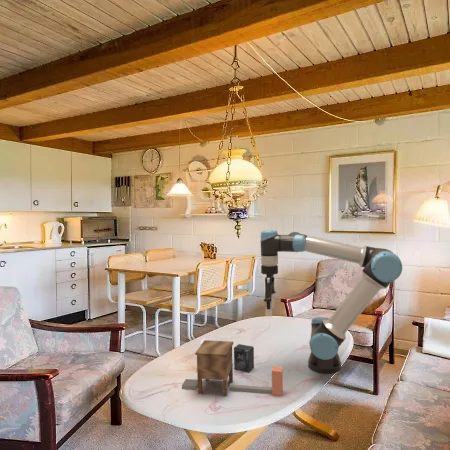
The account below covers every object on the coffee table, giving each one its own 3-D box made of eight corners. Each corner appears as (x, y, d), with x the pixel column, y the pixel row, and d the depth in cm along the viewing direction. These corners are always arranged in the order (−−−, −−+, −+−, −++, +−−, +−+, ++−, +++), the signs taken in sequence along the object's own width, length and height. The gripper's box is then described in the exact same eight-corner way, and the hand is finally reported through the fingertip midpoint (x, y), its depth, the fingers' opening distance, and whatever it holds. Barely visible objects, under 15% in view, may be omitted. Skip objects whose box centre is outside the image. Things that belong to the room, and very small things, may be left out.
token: (199, 384, 169) (199, 379, 169) (195, 390, 164) (195, 386, 163) (186, 383, 171) (185, 379, 170) (182, 389, 165) (181, 385, 165)
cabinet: (234, 380, 172) (233, 341, 171) (227, 396, 157) (226, 354, 156) (205, 378, 174) (204, 340, 173) (196, 394, 160) (195, 352, 159)
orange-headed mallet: (282, 390, 161) (282, 367, 161) (282, 396, 157) (281, 371, 156) (230, 386, 166) (229, 363, 165) (228, 391, 161) (227, 368, 161)
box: (233, 369, 183) (233, 347, 182) (239, 365, 188) (239, 343, 187) (249, 372, 179) (248, 350, 178) (254, 368, 184) (253, 346, 183)
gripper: (263, 260, 187) (264, 304, 188) (257, 269, 163) (258, 319, 164) (279, 260, 186) (280, 304, 187) (275, 269, 161) (276, 320, 162)
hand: (270, 311), depth 175 cm, fingers open, 13 cm apart
